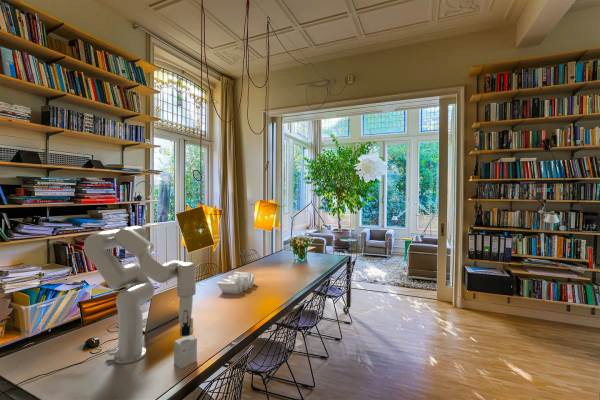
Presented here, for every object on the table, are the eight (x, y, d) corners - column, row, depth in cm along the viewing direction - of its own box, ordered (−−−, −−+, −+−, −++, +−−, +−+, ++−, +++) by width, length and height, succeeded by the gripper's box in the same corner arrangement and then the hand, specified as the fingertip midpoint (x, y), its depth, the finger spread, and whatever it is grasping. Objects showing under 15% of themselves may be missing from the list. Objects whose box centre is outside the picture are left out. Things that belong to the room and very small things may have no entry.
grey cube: (179, 337, 124) (179, 323, 123) (180, 331, 129) (180, 318, 129) (192, 335, 125) (192, 322, 125) (193, 329, 131) (193, 316, 130)
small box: (190, 356, 132) (190, 333, 132) (197, 361, 129) (197, 338, 128) (173, 364, 126) (173, 340, 126) (179, 369, 123) (180, 345, 122)
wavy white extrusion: (232, 297, 206) (232, 283, 205) (214, 293, 212) (214, 279, 212) (258, 284, 238) (259, 271, 237) (242, 281, 244) (242, 268, 244)
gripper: (178, 285, 133) (178, 324, 134) (175, 298, 117) (175, 342, 118) (196, 284, 136) (195, 322, 136) (194, 297, 120) (194, 340, 120)
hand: (186, 331), depth 127 cm, fingers closed on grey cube, 5 cm apart
